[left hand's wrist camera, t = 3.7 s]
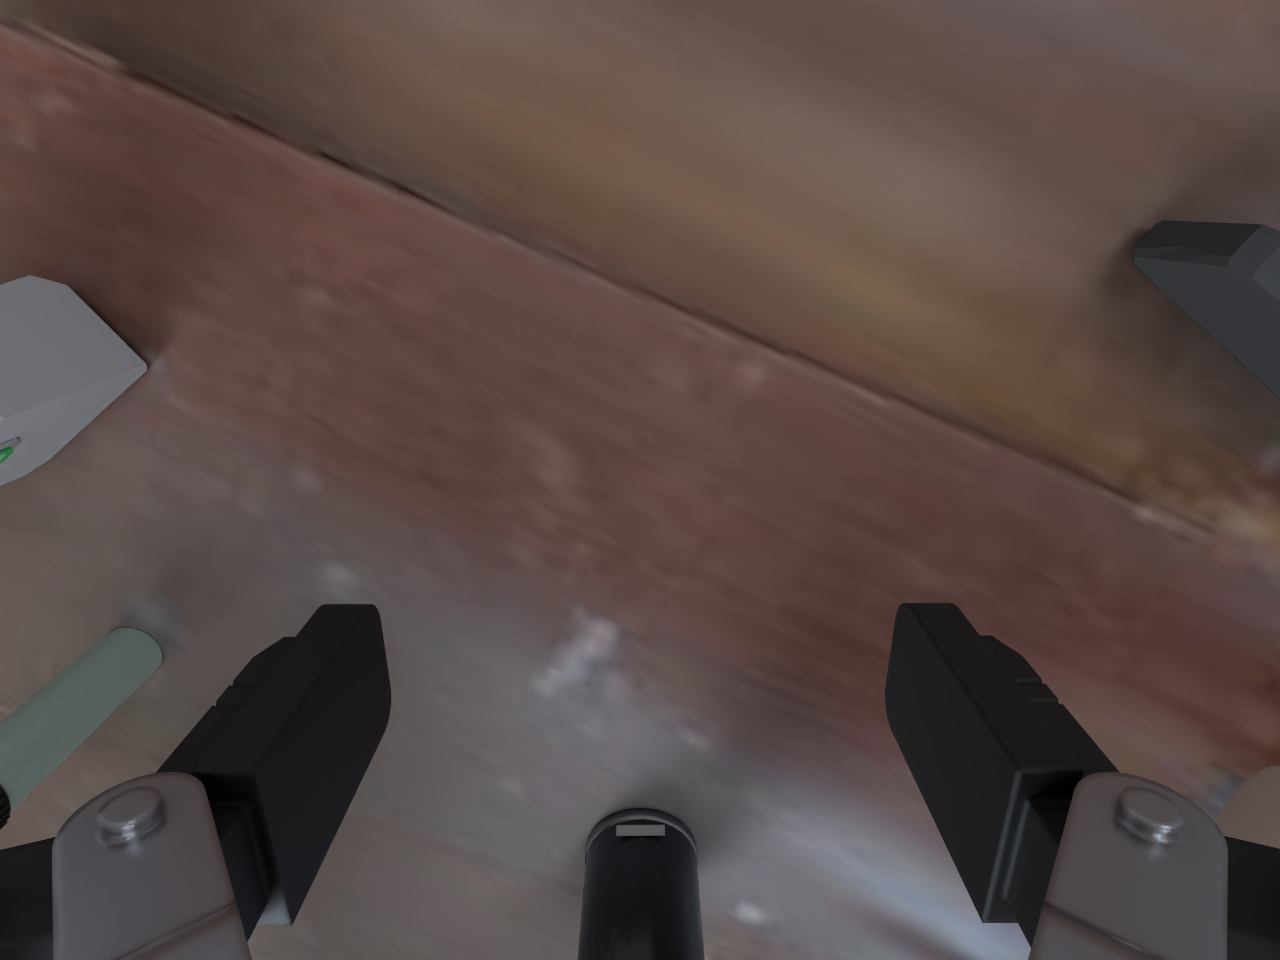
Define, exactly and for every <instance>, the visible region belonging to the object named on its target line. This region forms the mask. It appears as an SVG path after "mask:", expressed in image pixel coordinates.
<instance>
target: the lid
mask: <svg viewBox="0 0 1280 960" xmlns="http://www.w3.org/2000/svg"><path fill="white" fill-rule="evenodd" d="M10 812H11V805H10V801H9V799H8V796H7V795H6V793H5V792H4V790H3V789H2V788H1V787H0V829H1V828H2V827H3V826H4V825H5V824H6V823H7V820H8V818H10Z"/></svg>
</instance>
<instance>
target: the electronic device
mask: <svg viewBox="0 0 1280 960" xmlns="http://www.w3.org/2000/svg"><path fill="white" fill-rule="evenodd" d="M146 371H147V365H146V363H145V362H144V361H143V360H142V359H141V358H140V357H139V356H138V355H137V354H136V353H135V352H134V351H133V350H132V349H131V348H130V347H129V346H128V345H127V344H126V343H125V342H124V341H123V340H122V339H121V338H120V337H119V336H118V335H117V334H116V333H115V332H114V331H113V330H112V329H111V328H110V327H109V326H108V325H107V324H106V323H105V322H104V321H103V320H102V319H101V318H100V317H99V316H98V315H97V314H96V313H95V312H94V311H93V310H92V309H91V308H90V307H89V306H88V305H87V304H86V303H85V302H84V301H83V300H82V299H81V298H80V297H79V296H77V295H76V294H75V293H74V292H73V291H72V290H71V289H70V288H69V287H68V286H67V285H65V284H61V283H58V282H54V281H50V280H46V279H43V278H39V277H35V276H31V275H28V276H25V277H22V278H19V279H16V280H13V281H10V282H7V283H4V284H1V285H0V486H1V485H4V484H6V483H9V482H11V481H13V480H16V479H18V478H21V477H23V476H25V475H27V474H28V473H30V472H31V471H33V470H34V469H36V468H37V467H39V466H41V465H42V464H44V463H45V462H47V461H48V460H50V459H51V458H52V457H53V456H54V455H55V454H56V453H57V452H58V451H60V450H61V449H62V448H63V447H64V446H65V445H66V444H67V443H68V442H69V441H71V440H72V439H73V438H74V437H75V436H76V435H77V434H78V433H79V432H80V431H81V430H83V429H84V428H85V427H86V426H87V425H88V424H89V423H90V422H91V421H92V420H93V419H95V418H96V417H97V416H98V415H99V414H100V413H101V412H102V411H103V410H104V409H106V408H107V407H108V406H109V405H110V404H111V403H112V402H113V401H114V400H115V399H116V398H118V397H119V396H120V395H121V394H122V393H123V392H124V391H125V390H126V389H127V388H129V387H130V386H131V385H132V384H133V383H134V382H135V381H136V380H137V379H138V378H139V377H141V376H142V375H143V374H144V373H145V372H146Z"/></svg>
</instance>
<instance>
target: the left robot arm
mask: <svg viewBox="0 0 1280 960" xmlns="http://www.w3.org/2000/svg"><path fill="white" fill-rule="evenodd" d="M885 703H886V712H887V717H888V721H889V725H890V728H891V730H892V733H893V735H894V737H895V739H896V741H897V743H898V745H899V747H900V749H901V752H902V754H903V756H904V758H905V760H906V762H907V764H908V766H909V768H910V771H911V773H912V775H913V777H914V779H915V781H916V783H917V785H918V787H919V790H920V792H921V794H922V796H923V798H924V800H925V802H926V804H927V806H928V809H929V811H930V813H931V815H932V817H933V819H934V821H935V823H936V825H937V828H938V830H939V832H940V834H941V836H942V838H943V840H944V842H945V844H946V847H947V849H948V851H949V853H950V855H951V857H952V859H953V861H954V863H955V866H956V868H957V870H958V872H959V874H960V876H961V878H962V880H963V882H964V885H965V887H966V889H967V891H968V893H969V895H970V897H971V899H972V901H973V904H974V906H975V908H976V910H977V912H978V914H979V916H980V918H981V920H982V923H1018V924H1019V926H1020V927H1021V929H1022V931H1023V933H1024V935H1025V937H1026V939H1027V941H1028V943H1029V945H1030V947H1031V951H1030V955H1029V959H1028V960H1280V849H1278V848H1273V847H1269V846H1265V845H1261V844H1256V843H1252V842H1248V841H1243V840H1239V839H1235V838H1231V837H1226V836H1224V835H1223V833H1222V832H1221V830H1220V829H1219V827H1218V826H1217V824H1216V823H1215V822H1214V821H1213V820H1212V819H1211V818H1210V816H1208V815H1207V814H1206V813H1205V812H1204V811H1203V810H1202V809H1201V808H1200V807H1198V806H1197V805H1196V804H1194V803H1193V802H1192V801H1190V800H1189V799H1187V798H1186V797H1184V796H1182V795H1181V794H1179V793H1178V792H1176V791H1174V790H1172V789H1170V788H1168V787H1166V786H1164V785H1162V784H1159V783H1157V782H1154V781H1152V780H1149V779H1146V778H1143V777H1140V776H1135V775H1131V774H1126V773H1120V772H1119V771H1118V770H1117V769H1116V767H1115V766H1114V765H1113V764H1112V763H1111V761H1110V760H1109V759H1108V758H1107V757H1106V755H1105V754H1104V753H1103V752H1102V751H1101V749H1100V748H1099V747H1098V746H1097V745H1096V744H1095V742H1094V741H1093V740H1092V739H1091V738H1090V736H1089V735H1088V734H1087V733H1086V732H1085V730H1084V729H1083V728H1082V727H1081V726H1080V724H1079V723H1078V722H1077V721H1076V720H1075V718H1074V717H1073V716H1072V715H1071V714H1070V712H1069V711H1068V710H1067V709H1066V708H1065V706H1064V705H1063V704H1059V703H1058V698H1057V697H1056V696H1055V695H1054V693H1053V692H1052V691H1051V690H1050V689H1049V687H1048V686H1047V685H1046V684H1042V679H1041V678H1040V677H1039V675H1038V674H1037V673H1036V672H1035V671H1034V669H1033V668H1032V667H1031V666H1030V665H1029V663H1028V662H1027V661H1026V660H1025V659H1024V658H1023V656H1022V655H1020V654H1019V653H1017V652H1016V651H1014V650H1013V649H1011V648H1009V647H1008V646H1006V645H1005V644H1003V643H1002V642H1000V641H999V640H997V639H996V638H994V637H993V636H980V635H979V634H978V633H977V631H976V630H975V629H974V627H973V626H972V625H971V624H970V622H969V621H968V620H967V618H966V617H965V616H964V615H963V613H962V612H961V611H960V609H959V608H958V607H957V606H956V605H955V604H953V603H902V604H901V605H900V606H899V608H898V610H897V614H896V619H895V625H894V632H893V639H892V646H891V653H890V660H889V667H888V674H887V681H886V688H885ZM390 708H391V687H390V680H389V673H388V667H387V660H386V653H385V646H384V639H383V633H382V626H381V619H380V615H379V612H378V609H377V608H376V606H374V605H372V604H324V605H322V606H320V607H319V608H318V609H317V610H316V612H315V613H314V614H313V615H312V617H311V618H310V619H309V620H308V622H307V623H306V624H305V626H304V627H303V628H302V629H301V631H300V632H299V633H298V634H297V636H296V637H283V638H282V639H280V640H279V641H277V642H276V643H274V644H273V645H271V646H270V647H268V648H267V649H265V650H264V651H262V652H261V653H259V654H257V655H256V656H254V657H253V658H252V659H251V660H250V662H249V663H248V664H247V665H246V666H245V668H244V669H243V670H242V671H241V672H240V674H239V675H238V676H237V677H236V678H235V679H234V681H233V686H229V687H228V688H227V689H226V690H225V691H224V692H223V694H222V695H221V696H220V697H219V698H218V700H217V701H216V706H212V707H211V708H210V709H209V710H208V711H207V713H206V714H205V715H204V716H203V717H202V719H201V720H200V721H199V722H198V723H197V724H196V726H195V727H194V728H193V729H192V730H191V732H190V733H189V734H188V735H187V736H186V737H185V739H184V740H183V741H182V742H181V743H180V745H179V746H178V747H177V748H176V749H175V750H174V752H173V753H172V754H171V755H170V756H169V758H168V759H167V760H166V761H165V762H164V763H163V765H162V766H161V767H160V768H159V769H158V771H157V772H156V773H154V774H149V775H145V776H140V777H137V778H134V779H131V780H128V781H126V782H123V783H121V784H118V785H116V786H114V787H112V788H110V789H108V790H106V791H104V792H102V793H101V794H99V795H98V796H96V797H94V798H93V799H91V800H90V801H88V802H87V803H86V804H84V805H83V806H82V807H80V808H79V809H78V810H77V811H76V812H75V813H74V814H73V815H72V816H70V818H69V819H68V820H67V821H66V822H65V823H64V824H63V826H62V827H61V829H60V830H59V832H58V833H57V835H56V837H53V838H50V839H46V840H42V841H37V842H33V843H29V844H24V845H20V846H16V847H12V848H7V849H3V850H0V960H252V959H251V955H250V951H249V948H248V944H247V942H248V940H249V938H250V936H251V934H252V932H253V930H254V928H255V927H256V926H292V924H293V922H294V920H295V918H296V916H297V914H298V912H299V910H300V908H301V905H302V903H303V901H304V899H305V897H306V895H307V893H308V891H309V889H310V887H311V885H312V883H313V880H314V878H315V876H316V874H317V872H318V870H319V868H320V866H321V864H322V862H323V860H324V857H325V855H326V853H327V851H328V849H329V847H330V845H331V843H332V841H333V839H334V837H335V835H336V832H337V830H338V828H339V826H340V824H341V822H342V820H343V818H344V816H345V814H346V812H347V810H348V807H349V805H350V803H351V801H352V799H353V797H354V795H355V793H356V791H357V789H358V787H359V784H360V782H361V780H362V778H363V776H364V774H365V772H366V770H367V768H368V766H369V764H370V762H371V759H372V757H373V755H374V753H375V751H376V749H377V747H378V745H379V743H380V741H381V739H382V736H383V734H384V732H385V730H386V727H387V724H388V720H389V715H390ZM697 862H698V861H697V847H696V842H695V839H694V837H693V835H692V833H691V832H690V830H689V829H688V828H687V827H686V826H685V825H684V824H683V823H682V822H681V821H679V820H678V819H676V818H674V817H673V816H670V815H668V814H666V813H663V812H659V811H655V810H648V809H635V810H628V811H623V812H620V813H617V814H614V815H612V816H610V817H608V818H606V819H605V820H603V821H602V822H601V823H599V824H598V825H597V826H596V827H595V828H594V830H593V831H592V832H591V834H590V836H589V838H588V840H587V844H586V851H585V878H584V888H583V900H582V913H581V925H580V938H579V950H578V960H705V959H704V947H703V935H702V923H701V911H700V898H699V884H698V872H697Z"/></svg>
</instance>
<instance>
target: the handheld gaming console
mask: <svg viewBox="0 0 1280 960" xmlns="http://www.w3.org/2000/svg"><path fill="white" fill-rule="evenodd" d="M1133 264H1134V265H1135V266H1136V267H1137V268H1138V269H1139V270H1140V271H1141V272H1142V273H1143V274H1144V275H1145V276H1146V277H1147V278H1148V279H1149V280H1150V281H1151V282H1152V283H1153V284H1154V285H1156V286H1157V287H1158V288H1159V289H1160V290H1161V291H1162V292H1163V293H1164V294H1166V295H1167V296H1168V297H1169V298H1170V299H1171V300H1172V301H1173V302H1174V303H1175V304H1177V305H1178V306H1179V307H1180V308H1181V309H1182V310H1183V311H1184V312H1185V313H1186V314H1188V315H1189V316H1190V317H1191V318H1192V319H1193V320H1194V321H1195V322H1196V323H1198V324H1199V325H1200V326H1201V327H1202V328H1203V329H1204V330H1205V331H1206V332H1207V333H1209V334H1210V335H1211V336H1212V337H1213V338H1214V339H1215V340H1216V341H1217V342H1218V343H1220V344H1221V345H1222V346H1223V347H1224V348H1225V349H1226V350H1227V351H1228V352H1229V353H1231V354H1232V355H1233V356H1234V357H1235V358H1236V359H1237V360H1238V361H1239V362H1241V363H1242V364H1243V365H1244V366H1245V367H1246V368H1247V369H1248V370H1249V371H1250V372H1252V373H1253V374H1254V375H1255V376H1256V377H1257V378H1258V379H1259V380H1260V381H1261V382H1263V383H1264V384H1265V385H1266V386H1267V387H1268V388H1269V389H1270V390H1271V391H1273V392H1274V393H1275V394H1276V395H1277V396H1278V397H1279V398H1280V231H1277V230H1275V229H1272V228H1270V227H1267V226H1265V225H1261V224H1236V223H1212V222H1187V221H1162V222H1160V223H1158V224H1156V225H1155V226H1154V227H1153V228H1152V229H1151V230H1150V231H1149V232H1148V234H1147V235H1146V236H1145V237H1144V238H1143V239H1142V240H1141V241H1140V242H1139V243H1138V244H1137V246H1136V247H1135V249H1134V253H1133Z"/></svg>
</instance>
